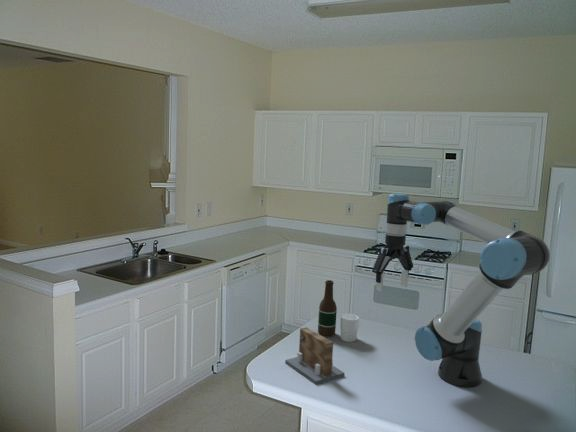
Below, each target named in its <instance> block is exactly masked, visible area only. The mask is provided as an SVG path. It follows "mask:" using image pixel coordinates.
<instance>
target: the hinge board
mask: <svg viewBox="0 0 576 432" xmlns="http://www.w3.org/2000/svg"><path fill="white" fill-rule="evenodd" d="M296 354H297V356H296V357H292V358H289V359H288V358H287V359H285V364H286V365H287V366H289V367H290V368H291V369H293V370H295V371H296V372H297V373H298V374H300V375H302V376H303V377H305V378H306V379H307V380H309V381H310V382H311V383H312V384H314V385H319V384H322V383H324V382H328V381H332V380H335V379H339V378H343V377H345V372H344V371H342V370H341V369H340V368H337V367H336V366H334V365H333V364H334V361H332V371H331V374H330V375H327V376H324V375H322V374H321V373H320V367H321V365H319V364H315V369H313V368H312V367H310V366H309V365H307V364H306V363H304V362H303V361H302V356H303V354H302V353H301V352H299V351H298V352H297V353H296Z"/></svg>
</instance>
